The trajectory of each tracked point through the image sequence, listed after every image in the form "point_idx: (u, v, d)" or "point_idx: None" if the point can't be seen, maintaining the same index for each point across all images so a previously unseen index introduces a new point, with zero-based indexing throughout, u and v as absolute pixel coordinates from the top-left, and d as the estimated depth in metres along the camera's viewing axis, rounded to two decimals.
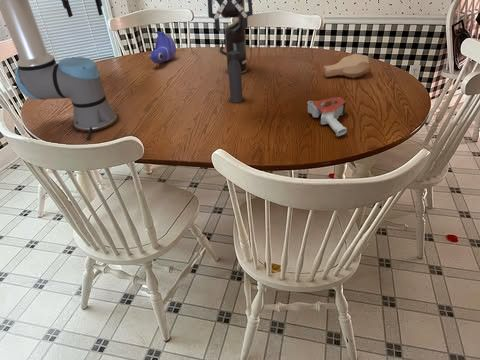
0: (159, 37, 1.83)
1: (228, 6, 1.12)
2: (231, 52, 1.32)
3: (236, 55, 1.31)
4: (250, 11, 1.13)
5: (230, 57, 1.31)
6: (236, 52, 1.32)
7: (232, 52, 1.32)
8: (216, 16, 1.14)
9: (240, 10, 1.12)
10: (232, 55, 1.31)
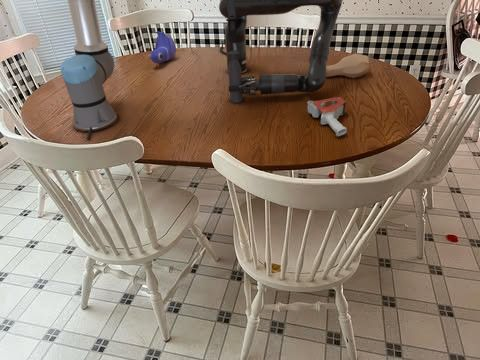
0: (159, 37, 1.83)
1: None
2: (231, 52, 1.32)
3: (236, 55, 1.31)
4: None
5: (230, 57, 1.31)
6: (236, 52, 1.32)
7: (232, 52, 1.32)
8: None
9: None
10: (232, 55, 1.31)
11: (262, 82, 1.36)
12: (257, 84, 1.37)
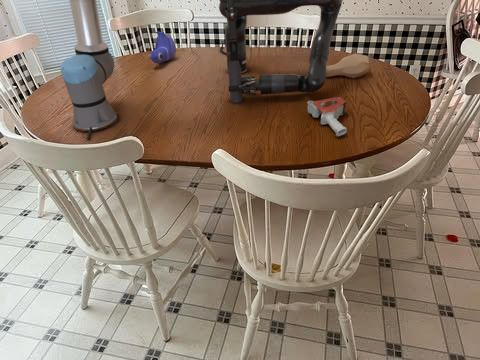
0: (159, 37, 1.83)
1: None
2: None
3: None
4: None
5: (230, 57, 1.31)
6: None
7: None
8: None
9: None
10: None
11: (262, 82, 1.36)
12: (257, 84, 1.37)
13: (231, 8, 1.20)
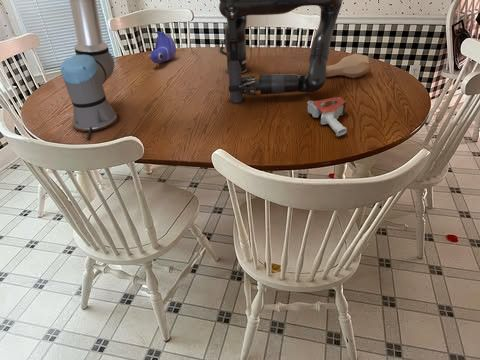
0: (159, 37, 1.83)
1: None
2: None
3: None
4: None
5: (238, 56, 1.32)
6: None
7: None
8: None
9: None
10: None
11: (262, 82, 1.36)
12: (257, 84, 1.37)
13: (231, 8, 1.20)
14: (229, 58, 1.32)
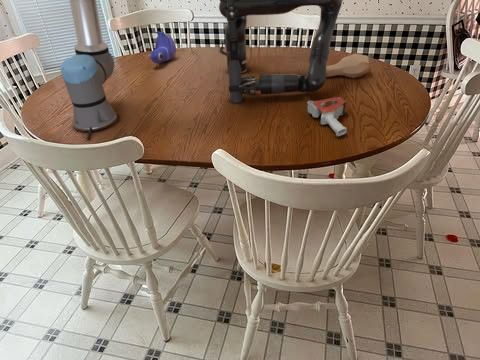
0: (159, 37, 1.83)
1: None
2: None
3: None
4: None
5: None
6: None
7: None
8: None
9: None
10: None
11: (262, 82, 1.36)
12: (257, 84, 1.37)
13: (231, 7, 1.20)
14: None
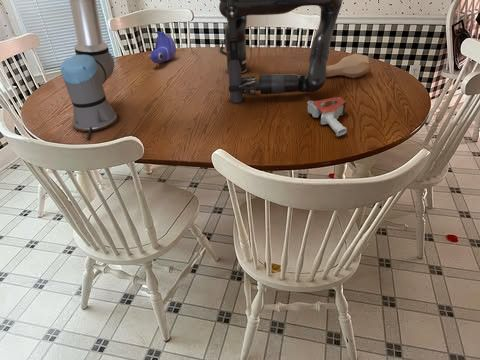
0: (159, 37, 1.83)
1: None
2: None
3: (229, 54, 1.31)
4: None
5: None
6: None
7: None
8: None
9: None
10: (228, 52, 1.32)
11: (262, 82, 1.36)
12: (257, 84, 1.37)
13: (231, 7, 1.20)
14: None
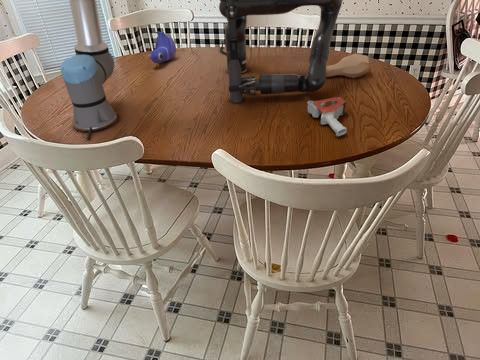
0: (159, 37, 1.83)
1: None
2: None
3: None
4: None
5: None
6: None
7: None
8: None
9: None
10: None
11: (262, 82, 1.36)
12: (257, 84, 1.37)
13: (231, 7, 1.19)
14: None
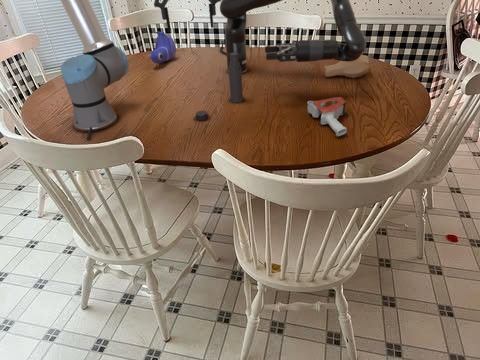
0: (159, 37, 1.83)
1: None
2: (201, 114, 1.30)
3: None
4: None
5: (206, 116, 1.30)
6: (201, 111, 1.31)
7: (201, 113, 1.30)
8: None
9: None
10: (206, 113, 1.31)
11: (300, 48, 1.28)
12: (294, 50, 1.29)
13: None
14: (198, 119, 1.30)
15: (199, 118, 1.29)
